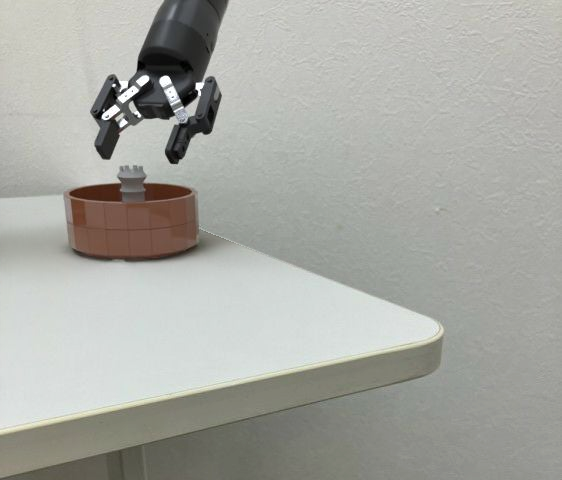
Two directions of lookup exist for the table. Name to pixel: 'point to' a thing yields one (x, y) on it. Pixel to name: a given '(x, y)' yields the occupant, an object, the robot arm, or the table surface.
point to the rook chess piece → (132, 183)
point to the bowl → (132, 221)
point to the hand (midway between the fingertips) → (135, 157)
